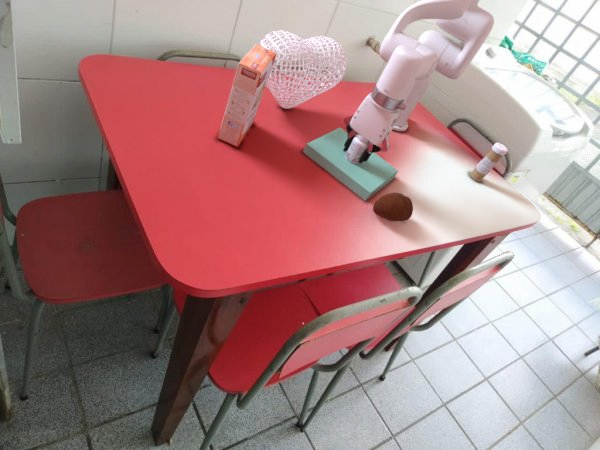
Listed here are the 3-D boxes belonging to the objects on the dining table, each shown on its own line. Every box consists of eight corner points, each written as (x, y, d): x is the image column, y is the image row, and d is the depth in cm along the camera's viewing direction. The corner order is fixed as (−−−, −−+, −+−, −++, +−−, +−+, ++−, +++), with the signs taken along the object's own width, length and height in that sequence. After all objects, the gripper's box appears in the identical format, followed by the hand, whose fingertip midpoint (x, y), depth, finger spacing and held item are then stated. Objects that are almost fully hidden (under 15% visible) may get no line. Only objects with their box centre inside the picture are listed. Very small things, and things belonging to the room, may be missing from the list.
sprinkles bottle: (475, 173, 141) (501, 142, 132) (483, 182, 139) (511, 151, 130) (466, 173, 139) (493, 141, 130) (475, 182, 136) (502, 151, 127)
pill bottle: (362, 159, 114) (376, 135, 109) (357, 166, 111) (371, 141, 105) (347, 150, 115) (361, 126, 109) (342, 157, 111) (355, 132, 106)
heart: (308, 94, 137) (335, 29, 122) (332, 122, 129) (364, 56, 115) (234, 91, 121) (254, 16, 106) (257, 124, 113) (282, 48, 98)
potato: (412, 228, 106) (429, 207, 100) (376, 229, 100) (392, 206, 95) (398, 207, 110) (414, 186, 105) (364, 206, 105) (378, 184, 99)
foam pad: (335, 135, 125) (340, 127, 123) (393, 178, 119) (398, 170, 117) (302, 152, 112) (306, 143, 110) (365, 201, 107) (370, 193, 105)
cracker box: (238, 148, 103) (262, 73, 89) (216, 139, 102) (237, 61, 88) (254, 123, 113) (278, 52, 99) (234, 114, 112) (255, 41, 99)
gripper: (419, 114, 101) (384, 169, 113) (366, 77, 105) (337, 134, 117) (408, 121, 96) (372, 178, 108) (352, 82, 100) (323, 141, 112)
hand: (354, 155), depth 112 cm, fingers closed on pill bottle, 4 cm apart
